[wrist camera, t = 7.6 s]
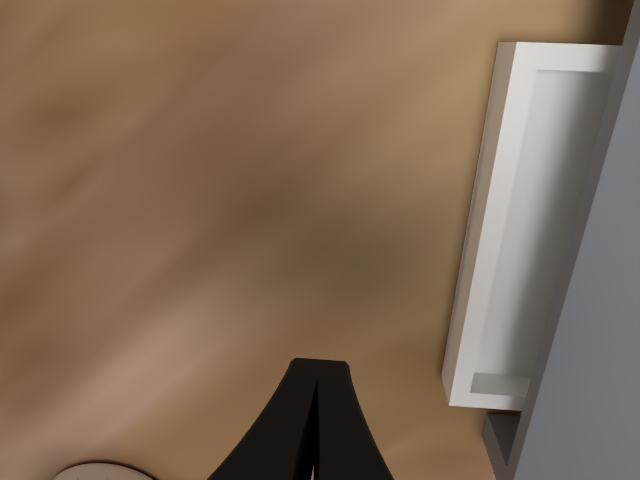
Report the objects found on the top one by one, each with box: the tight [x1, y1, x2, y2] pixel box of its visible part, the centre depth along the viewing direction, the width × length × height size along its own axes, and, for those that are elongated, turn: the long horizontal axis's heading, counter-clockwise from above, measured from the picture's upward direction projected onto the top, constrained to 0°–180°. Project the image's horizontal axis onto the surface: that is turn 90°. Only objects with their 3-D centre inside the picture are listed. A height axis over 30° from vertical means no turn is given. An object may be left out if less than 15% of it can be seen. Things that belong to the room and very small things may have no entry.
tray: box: [441, 42, 622, 411], centre depth 18 cm, size 12×15×2 cm
